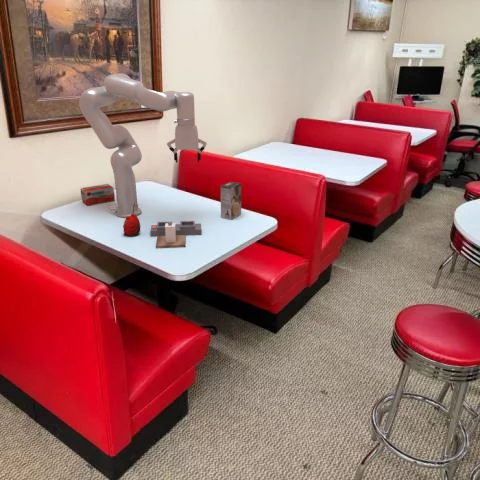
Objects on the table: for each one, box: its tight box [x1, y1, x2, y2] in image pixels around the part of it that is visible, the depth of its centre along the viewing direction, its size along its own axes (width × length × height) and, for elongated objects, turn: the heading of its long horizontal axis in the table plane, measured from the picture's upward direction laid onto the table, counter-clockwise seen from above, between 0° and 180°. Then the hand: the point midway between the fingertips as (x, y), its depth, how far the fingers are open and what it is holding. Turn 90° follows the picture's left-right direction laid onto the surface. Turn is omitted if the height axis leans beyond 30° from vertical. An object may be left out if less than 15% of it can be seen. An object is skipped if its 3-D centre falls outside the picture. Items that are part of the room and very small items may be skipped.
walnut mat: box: [155, 235, 187, 249], centre depth 182 cm, size 12×10×1 cm
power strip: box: [149, 220, 202, 238], centre depth 191 cm, size 22×7×4 cm, turn 96°
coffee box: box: [219, 181, 242, 221], centre depth 207 cm, size 9×6×16 cm
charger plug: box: [165, 221, 176, 242], centre depth 180 cm, size 4×4×8 cm
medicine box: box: [79, 183, 116, 207], centre depth 226 cm, size 15×8×8 cm, turn 125°
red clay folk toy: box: [122, 203, 141, 237], centre depth 186 cm, size 8×7×15 cm
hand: (187, 161), depth 193 cm, fingers open, 9 cm apart
